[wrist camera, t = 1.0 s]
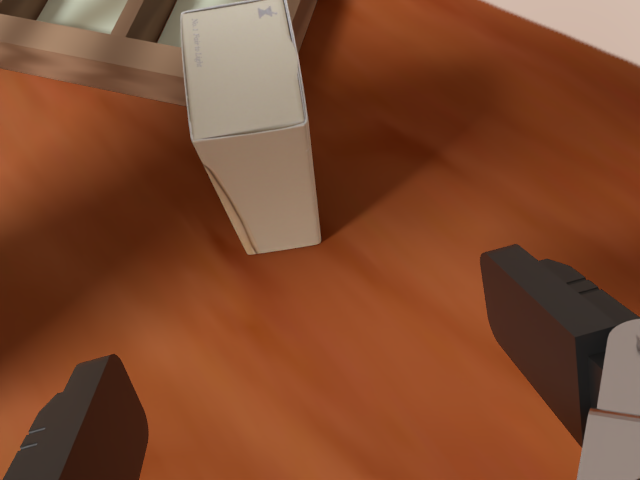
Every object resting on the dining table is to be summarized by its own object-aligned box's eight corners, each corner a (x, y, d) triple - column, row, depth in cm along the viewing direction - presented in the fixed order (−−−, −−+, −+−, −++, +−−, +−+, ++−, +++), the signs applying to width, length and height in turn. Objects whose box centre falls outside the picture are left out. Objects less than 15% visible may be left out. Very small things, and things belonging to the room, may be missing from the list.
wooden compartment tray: (-12, 65, 37) (-43, 33, 34) (64, -63, 41) (43, -101, 38) (273, 124, 34) (265, 93, 31) (325, -22, 38) (322, -60, 35)
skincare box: (236, 162, 33) (174, 6, 22) (310, 150, 33) (286, -13, 22) (247, 260, 30) (183, 142, 19) (327, 247, 30) (309, 121, 19)
